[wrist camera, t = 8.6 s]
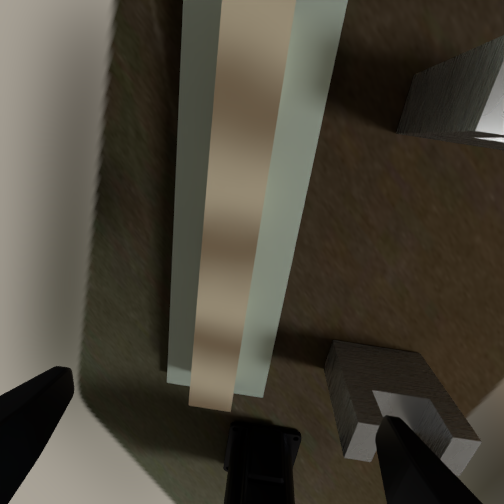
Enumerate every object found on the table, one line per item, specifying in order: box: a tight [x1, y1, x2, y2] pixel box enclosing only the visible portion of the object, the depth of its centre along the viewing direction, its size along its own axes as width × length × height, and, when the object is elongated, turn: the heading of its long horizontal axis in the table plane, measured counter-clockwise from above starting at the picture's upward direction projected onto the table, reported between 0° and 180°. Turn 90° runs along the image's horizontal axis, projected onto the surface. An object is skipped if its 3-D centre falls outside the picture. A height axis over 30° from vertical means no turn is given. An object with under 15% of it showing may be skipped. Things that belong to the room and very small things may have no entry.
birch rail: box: [189, 0, 296, 412], centre depth 17 cm, size 24×3×3 cm, turn 172°
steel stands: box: [324, 35, 504, 476], centre depth 16 cm, size 21×7×7 cm, turn 172°
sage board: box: [167, 0, 348, 398], centre depth 19 cm, size 27×8×1 cm, turn 172°
